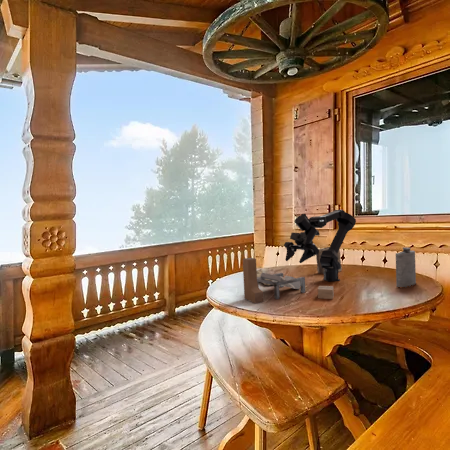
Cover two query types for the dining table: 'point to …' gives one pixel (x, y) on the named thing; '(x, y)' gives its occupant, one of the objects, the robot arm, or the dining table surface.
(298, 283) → the gray rectangular block
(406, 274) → the flask
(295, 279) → the frame
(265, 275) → the trapdoor
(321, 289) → the stand
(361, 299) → the dining table surface
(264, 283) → the rock fragment
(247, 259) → the wooden block
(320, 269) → the mineral sample
